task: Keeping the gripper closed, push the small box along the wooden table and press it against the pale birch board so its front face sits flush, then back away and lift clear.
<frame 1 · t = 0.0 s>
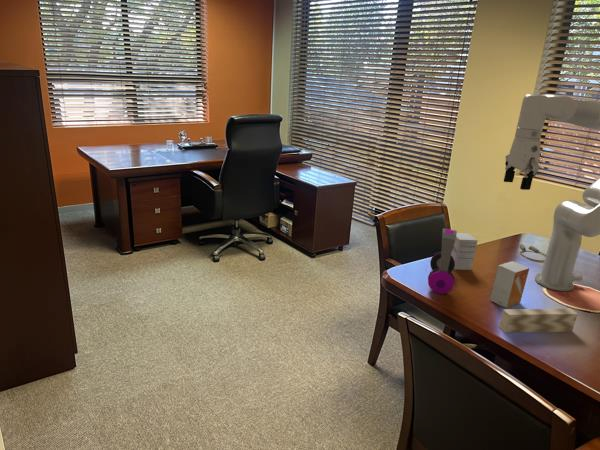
hand: (516, 185, 149), 37 cm above the table, tool pointing down, fingers open, 9 cm apart
birch board: (535, 329, 134), on the table
supplement box: (458, 266, 175), on the table
small box: (505, 302, 149), on the table
headphones: (439, 283, 160), on the table
extension cord: (533, 256, 192), on the table
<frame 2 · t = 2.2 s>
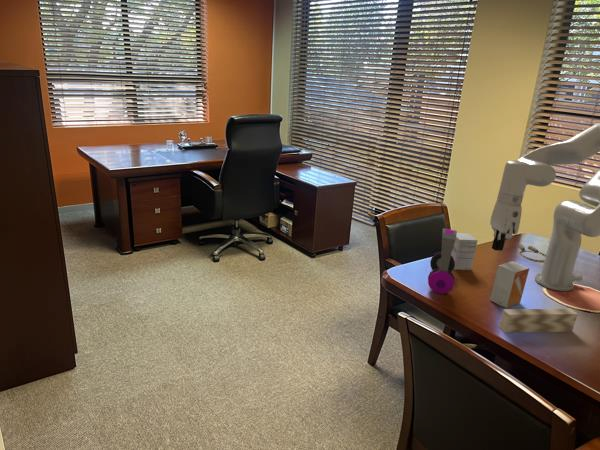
hand: (497, 249, 153), 15 cm above the table, tool pointing down, fingers closed
nothing on the table moved.
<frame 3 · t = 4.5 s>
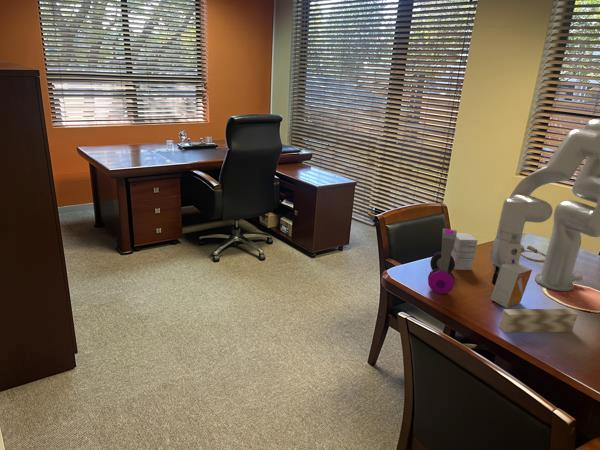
hand: (497, 284, 154), 3 cm above the table, tool pointing down, fingers closed
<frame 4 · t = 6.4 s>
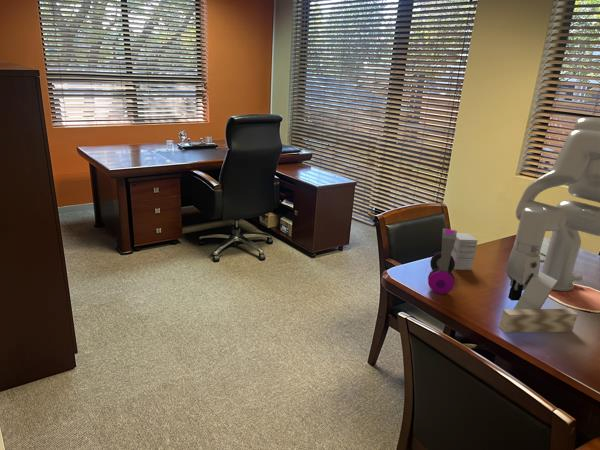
hand: (513, 299, 144), 3 cm above the table, tool pointing down, fingers closed
small box: (525, 312, 142), on the table, touching gripper
everything else where it was.
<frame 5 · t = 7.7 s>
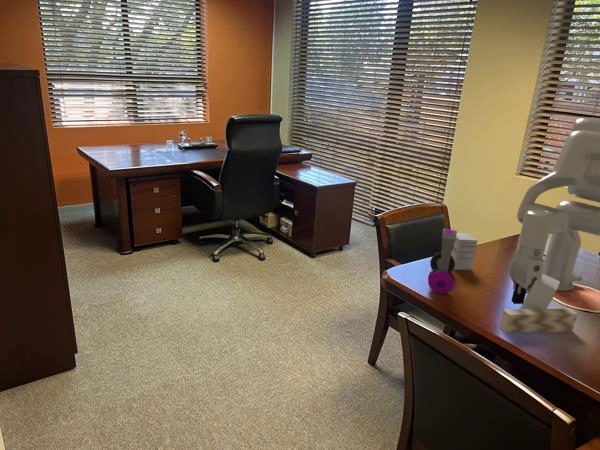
hand: (517, 302, 143), 3 cm above the table, tool pointing down, fingers closed
small box: (529, 315, 140), on the table, touching birch board, gripper
everything else where it was.
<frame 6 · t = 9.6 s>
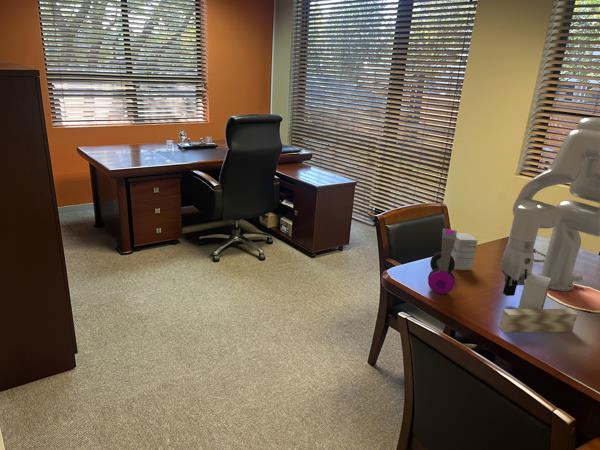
hand: (508, 294, 148), 3 cm above the table, tool pointing down, fingers closed
small box: (528, 316, 141), on the table
everything else where it was.
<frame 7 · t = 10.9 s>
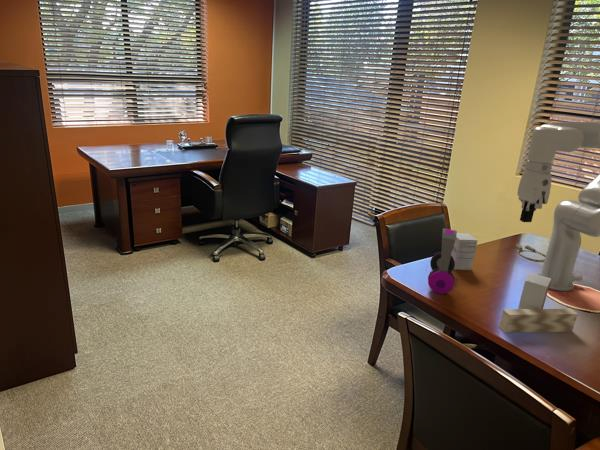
hand: (525, 221, 147), 26 cm above the table, tool pointing down, fingers closed
nothing on the table moved.
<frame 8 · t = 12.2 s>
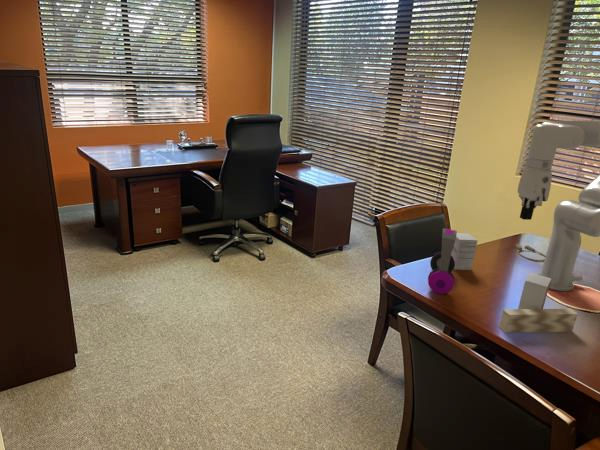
hand: (525, 218, 147), 27 cm above the table, tool pointing down, fingers closed
at the end: small box inside the target area on the table beside the birch board (3.1 cm from its centre), on the table; small box tilted 0° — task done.
